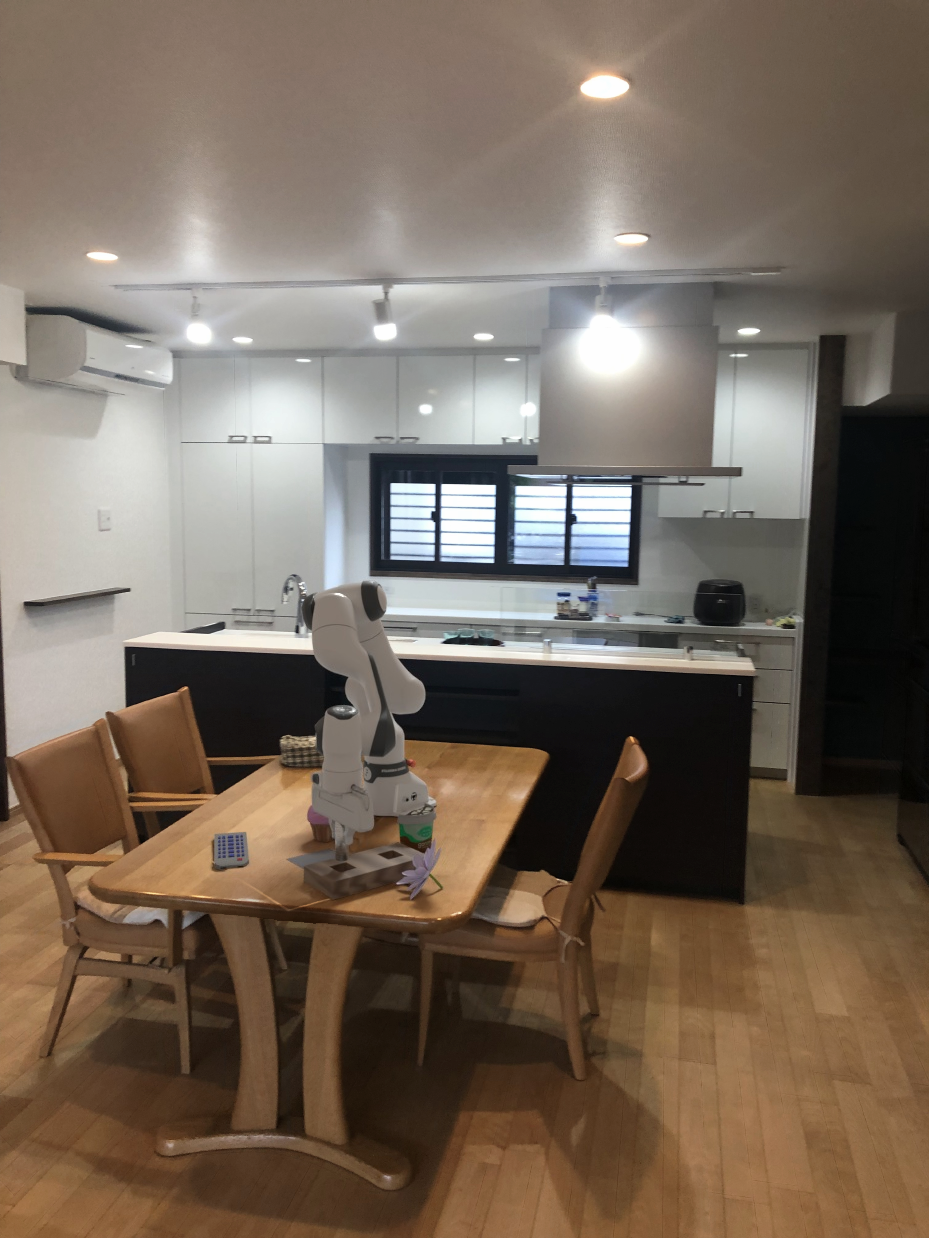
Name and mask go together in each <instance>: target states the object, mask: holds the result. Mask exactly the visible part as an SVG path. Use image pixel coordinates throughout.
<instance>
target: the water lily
mask: <svg viewBox="0 0 929 1238" xmlns="http://www.w3.org/2000/svg"><path fill="white" fill-rule="evenodd" d="M436 847H437V845H436V838H434V839H432V844H431V848H430V849H429V848H427V850H426V852H425V853H424V854H425V855H424V859H423V858H422V856H421V855H419V854H416V855H415V856H413V859H412V861H413V865H414V866H415V867H416V868H417V869H416V870H408V871H404V872H402V874H404V875H406V876H407V877H404V879H402V880H400V881H398V882H395V884H396V885H405V884H411V885H409V886H408V887H407V889H406V892H408V891H411V890H412V889H413V891H412V892H411V894H410V897H409V900H410V901H411V900H413V898H414V897H416V896H417V895H418V893H419V892H421V891H422V890H421V889H422V888H423V887H424V886H425V884H426V882H427V881H428V878H429V877H430V878H431V879H432V880H433V881H434V882H435V884H436V885H437V886H438V887H439V888H440V890H442V889H443V888H444V887H443V885H442V884H441V883H440V881H438V879H437V878H436V877H435V876H434V875H433V874H431V872H432V870H433V869H434V868H435V866H436V864H437V862H438V861H439V858H440V855H441V851H442V847H440V848H439V849H438V851H437V852H436V849H437V848H436Z"/></svg>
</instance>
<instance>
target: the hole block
mask: <svg viewBox="0 0 929 1238" xmlns="http://www.w3.org/2000/svg"><path fill="white" fill-rule="evenodd" d="M416 854H419V855H421V856H422V858H423V859H424V855H425V853H421V852H419V851H417V850H415V849H412V848H410V847H408V846H406V845H403V844H401V843H400V841H398V842H393V843H388V844H386V845H385V844H384V845H381V846H377V847H373V848H370V849H365V850H362V851H357V852H354V853H350V854H349V859H348V860H347V861H336V860H335V858H334V859H330V860H326V861H322V862H318V863H314V864H310V865H306V866H304V869H303V883H305V884H307V885H308V886H311V887H312V888H313V889H315V890H317V891H318V892H320V893H322V894H324V895H325V896H327V897H328V899H330V900H331V901H334V900H337V899H342V898H345V897H348V896H353V895H355V894H359V893H363V892H365V891H370V890H373V889H377V888H380V887H383V886H386V885H390V884H393V883H397V882H399V881H400V880H402V879H404V877H407V876H406V875H404V874H402V872H404V871H408V870H416V869H417V868H416V867H415V866H414V865H413V861H412V859H413V856H415V855H416Z"/></svg>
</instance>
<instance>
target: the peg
mask: <svg viewBox="0 0 929 1238" xmlns="http://www.w3.org/2000/svg"><path fill="white" fill-rule="evenodd" d="M345 833H346V830H345V826H344V825H342V824H340V823H338V822H336V821H335V839H334V851H335V860H336V861H347V860H348V859H349V853H350V850H349V849H350V847H349V846H350V845H346V844H344V843H343V836H344V835H345Z"/></svg>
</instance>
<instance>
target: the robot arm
mask: <svg viewBox="0 0 929 1238" xmlns="http://www.w3.org/2000/svg"><path fill="white" fill-rule="evenodd" d="M387 604H388V601H387V596H386V592H385V590H384V589H383V586H382V585H381V584H380V583H379V582H377V581H375V580H363V581H361V582H350V583H346V584H340V585H338V586H335V587H331V588H328V589H325V590H322V591H319V592H317V591H316V592H313V593H311V594H309V595H307V596H306V597H305V598H304V599H303V601H302V603H301V616H302V619H303V622H304V625H305V626H306V628H307V629H308V630H309V631H311V643H312V644H311V645H312V651H313V656H314V657H315V660H316V661H317V662H318V664H319V665H320V666H322V667H323V668H325V669H326V670H328V671H330V672H332V673H334V674H338V675H342V676H344V677H348V678H347V679H346V682H345V686H344V690H345V691H344V692H345V695H346V698H347V700H348V701H349V702H350V703H351V704H352V705H345V704H343V705H342V704H341V705H334V706H331V707H329V708H327V709H326V711H325V713H324V716H322V717H321V718H320V719H319V720H318V721H317V722H316V724H314V730H315V744H314V749H315V751H316V752H318V753H319V754H320V755H321V756H323V757H324V758H323V762H322V766H321V768H322V770H319V771H314V772H311V773H310V782H311V783H312V785H311V805H312V807H313V809H314V811H315V812H316V813H319V814H321V815H323V816H325V817H327V818H329V824H330V827H331V830H332V838H334V839H333V840H335V821H336V822H338V823H340V824H342V825H344V826H345V830H346V833H345V835H344V836H343V843H344V844H346V845H349V846H350V845H353V843H354V836H355V833H356V832H358V833H365V832H370V831H372V830H373V828H374V827H375V819H374V817H375V816H378V817H397V818H398V816H399V814H400V815H407V814H408V813H410V812H411V811H413V810H418V809H421V808H423V807H424V804H425V803H426V804H430V805H432V806H433V807H436V806H437V804H438V803H437V800H436V799H435V798H433V797H432V796H430V795H429V794H430V793H429V789H428V785H427V784H426V782H425V781H424V780H422V779H421V778H420V777H418V775H415V773H413V772H411V771H410V768H409V767H411V768H412V769H413V768H416V766H417V761H416V760H413V759H411V758H410V759H407V758H405V733H404V730H403V728H402V727H401V726H400V725H399V724H398V723H397V722H396V721H395V718H394V716H393V714H396V715H409V714H415V713H417V712H418V711H420V709H421V708H422V707H423V705H424V703H425V700H426V689H425V686H424V683H423V682H422V680H419V679H418V678H417V677H415V676H414V675H413V674H412V673H411V672H410V671H408V669H407V668H406V667H405V666H404V664H403V663H402V662H401V661H400V659H399V658H398V656H397V655H396V654H395V652H394V650H393V648H392V647H391V643H390V642H389V638H388V636H387V633H386V631H385V628H384V625H383V623H382V620H381V618H383V616H385V614H386V613H387ZM362 757H364V759H363V760H362ZM362 761H363V762H362Z"/></svg>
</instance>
